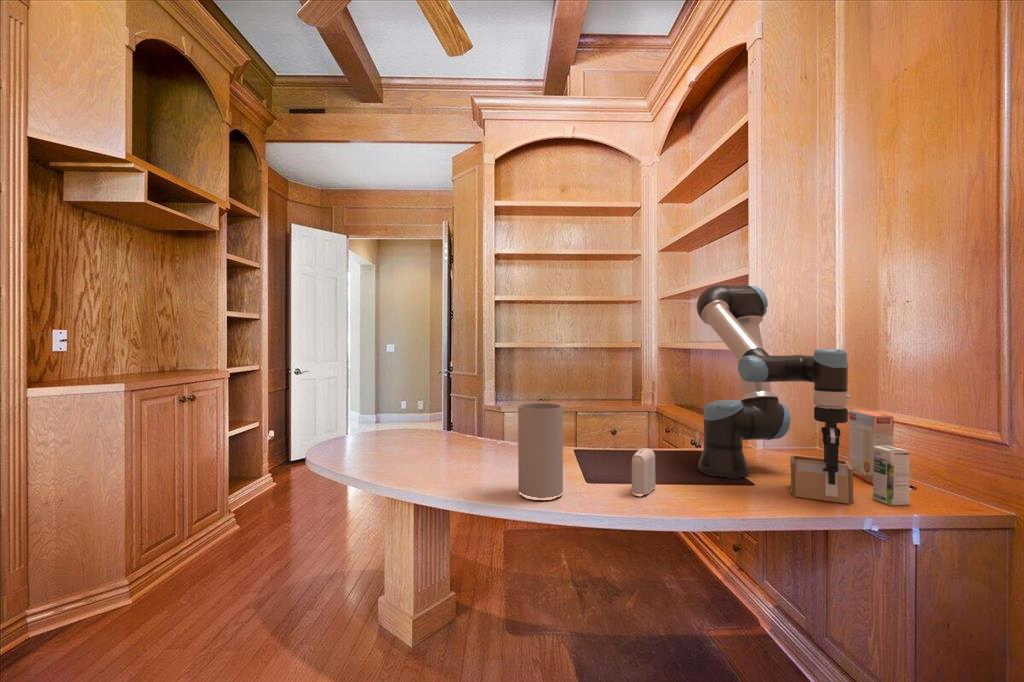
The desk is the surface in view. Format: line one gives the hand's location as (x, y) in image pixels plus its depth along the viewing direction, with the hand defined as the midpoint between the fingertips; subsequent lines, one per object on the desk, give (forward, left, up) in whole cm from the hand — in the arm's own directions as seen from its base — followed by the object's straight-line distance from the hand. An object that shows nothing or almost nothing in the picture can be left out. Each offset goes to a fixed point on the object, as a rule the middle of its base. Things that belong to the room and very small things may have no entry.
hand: (831, 494), depth 127 cm
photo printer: (-46, -15, -2) cm, 49 cm away
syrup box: (+14, +8, -2) cm, 16 cm away
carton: (-2, +7, -2) cm, 7 cm away
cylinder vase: (-71, -31, -2) cm, 78 cm away
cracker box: (+13, +31, -2) cm, 33 cm away
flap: (-2, 0, -2) cm, 3 cm away
